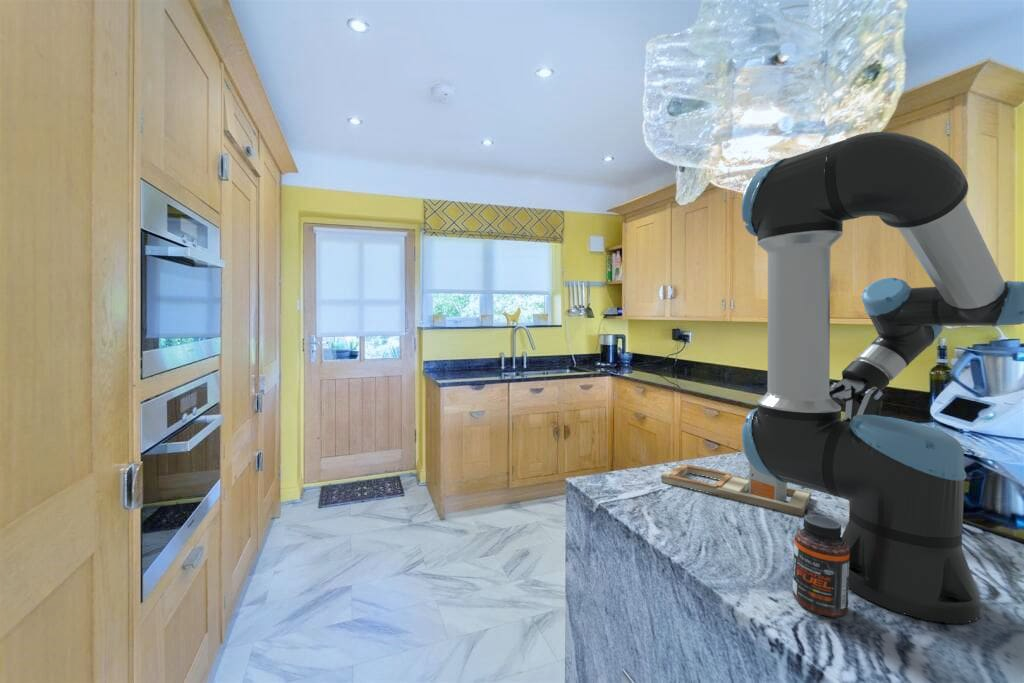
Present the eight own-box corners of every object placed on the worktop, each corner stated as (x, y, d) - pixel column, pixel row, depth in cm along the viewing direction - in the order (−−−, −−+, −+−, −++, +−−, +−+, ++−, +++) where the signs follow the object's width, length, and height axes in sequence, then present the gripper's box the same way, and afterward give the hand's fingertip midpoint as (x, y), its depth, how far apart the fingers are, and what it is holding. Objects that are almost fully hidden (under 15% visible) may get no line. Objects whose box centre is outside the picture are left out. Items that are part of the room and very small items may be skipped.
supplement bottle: (788, 605, 56) (790, 520, 56) (796, 585, 60) (798, 506, 60) (845, 626, 52) (847, 535, 52) (850, 603, 56) (852, 519, 56)
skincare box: (747, 495, 93) (748, 441, 93) (758, 491, 95) (759, 438, 95) (776, 505, 88) (777, 448, 88) (787, 501, 90) (788, 445, 90)
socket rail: (801, 516, 82) (801, 507, 82) (661, 481, 101) (661, 474, 101) (810, 498, 91) (810, 490, 91) (680, 469, 110) (680, 462, 110)
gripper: (941, 391, 78) (857, 471, 79) (840, 376, 103) (777, 437, 104) (913, 363, 78) (829, 443, 79) (818, 355, 103) (755, 416, 104)
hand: (799, 440), depth 92 cm, fingers open, 13 cm apart
